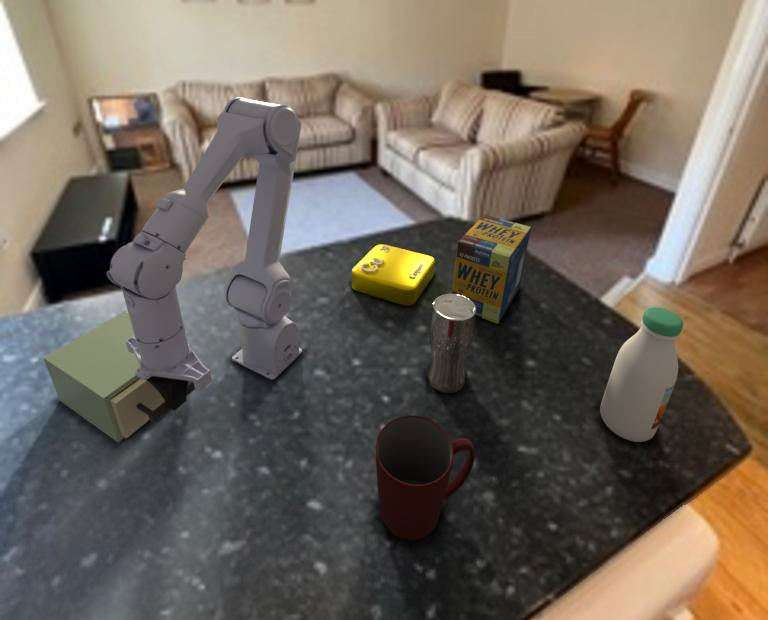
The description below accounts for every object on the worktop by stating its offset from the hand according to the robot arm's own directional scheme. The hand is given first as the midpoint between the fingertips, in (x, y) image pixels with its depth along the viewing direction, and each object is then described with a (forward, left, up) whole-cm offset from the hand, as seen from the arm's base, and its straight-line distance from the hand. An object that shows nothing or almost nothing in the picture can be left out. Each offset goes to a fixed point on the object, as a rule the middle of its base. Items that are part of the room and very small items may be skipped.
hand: (178, 404), depth 64 cm
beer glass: (-30, -28, -5) cm, 41 cm away
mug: (-35, -7, -5) cm, 36 cm away
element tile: (-9, -49, -5) cm, 50 cm away
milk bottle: (-57, -34, -5) cm, 67 cm away
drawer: (+9, 0, -3) cm, 10 cm away
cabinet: (+13, 0, -4) cm, 14 cm away
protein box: (-29, -54, -5) cm, 61 cm away
